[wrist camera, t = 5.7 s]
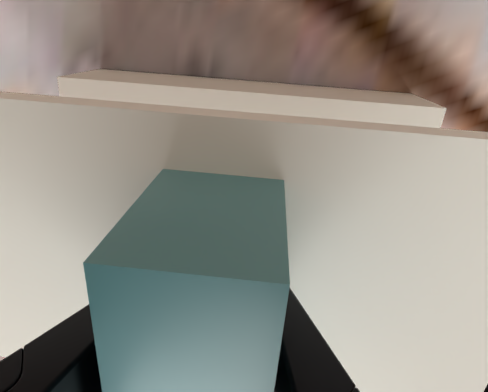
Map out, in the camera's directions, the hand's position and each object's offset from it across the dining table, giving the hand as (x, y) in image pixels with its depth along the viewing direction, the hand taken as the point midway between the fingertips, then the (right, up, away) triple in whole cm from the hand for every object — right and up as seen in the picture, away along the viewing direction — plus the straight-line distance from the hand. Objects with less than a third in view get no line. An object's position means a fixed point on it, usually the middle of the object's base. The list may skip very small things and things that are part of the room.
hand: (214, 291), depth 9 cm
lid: (0, +1, +1) cm, 2 cm away
